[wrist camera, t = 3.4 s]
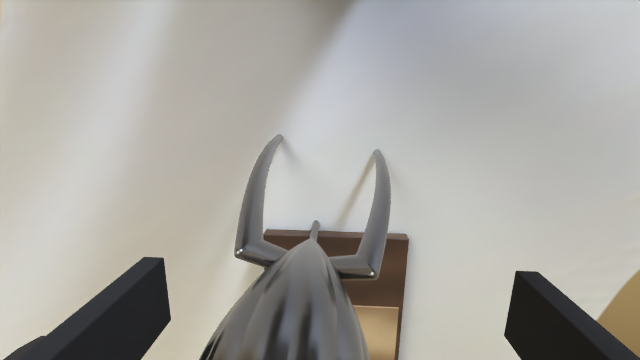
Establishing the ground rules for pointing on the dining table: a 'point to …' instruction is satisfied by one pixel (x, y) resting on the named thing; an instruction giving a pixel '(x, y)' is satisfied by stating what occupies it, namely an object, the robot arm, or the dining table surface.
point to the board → (365, 285)
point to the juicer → (299, 285)
